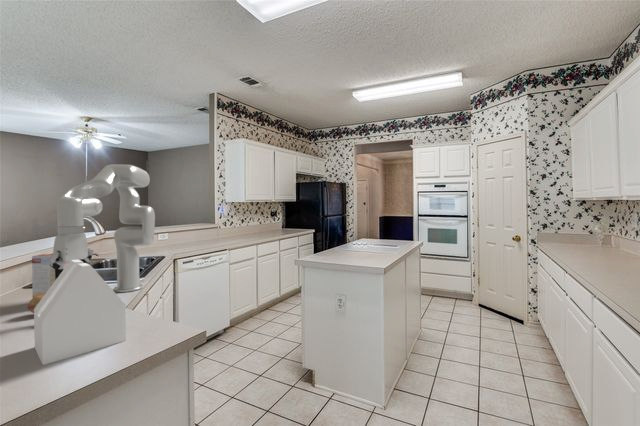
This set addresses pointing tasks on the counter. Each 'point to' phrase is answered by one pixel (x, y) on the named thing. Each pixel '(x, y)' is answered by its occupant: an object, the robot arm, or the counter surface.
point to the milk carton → (77, 315)
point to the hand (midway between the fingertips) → (72, 276)
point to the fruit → (35, 302)
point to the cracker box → (42, 274)
